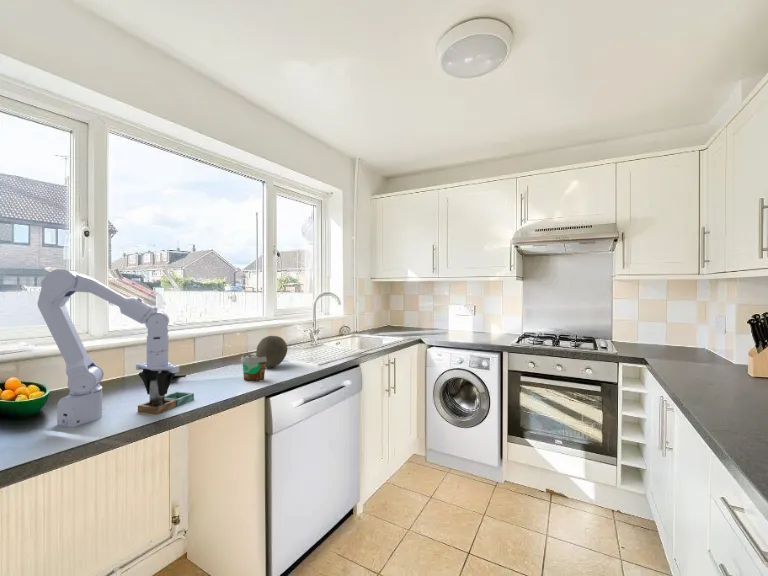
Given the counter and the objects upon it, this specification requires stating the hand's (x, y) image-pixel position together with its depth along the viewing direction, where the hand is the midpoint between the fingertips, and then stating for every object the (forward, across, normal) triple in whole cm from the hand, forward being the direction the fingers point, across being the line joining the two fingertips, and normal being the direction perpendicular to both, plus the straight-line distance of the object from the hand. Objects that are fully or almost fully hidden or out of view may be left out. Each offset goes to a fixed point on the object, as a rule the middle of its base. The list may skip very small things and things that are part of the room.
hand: (157, 394), depth 111 cm
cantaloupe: (+6, -1, -64) cm, 64 cm away
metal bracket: (+6, +28, -30) cm, 42 cm away
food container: (+6, -5, -40) cm, 41 cm away
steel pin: (+3, 0, 0) cm, 3 cm away
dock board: (+6, 0, -4) cm, 7 cm away
